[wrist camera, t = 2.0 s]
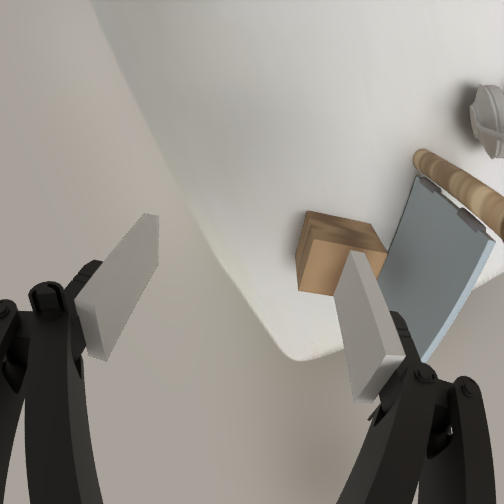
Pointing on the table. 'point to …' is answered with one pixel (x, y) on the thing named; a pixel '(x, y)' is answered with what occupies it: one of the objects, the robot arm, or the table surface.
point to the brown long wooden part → (464, 189)
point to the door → (433, 264)
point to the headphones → (489, 119)
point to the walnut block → (333, 251)
